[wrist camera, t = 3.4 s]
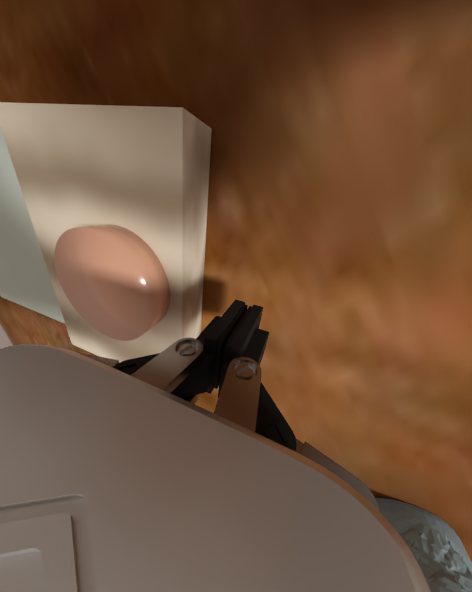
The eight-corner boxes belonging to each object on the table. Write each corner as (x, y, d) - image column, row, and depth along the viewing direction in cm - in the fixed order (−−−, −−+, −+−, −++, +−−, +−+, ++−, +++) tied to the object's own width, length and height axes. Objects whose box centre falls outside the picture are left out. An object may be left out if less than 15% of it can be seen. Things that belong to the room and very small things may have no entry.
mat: (-71, 112, 19) (-89, 108, 18) (42, 119, 15) (26, 114, 14) (10, 294, 28) (1, 297, 28) (94, 328, 24) (86, 332, 24)
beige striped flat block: (46, 119, 15) (-8, 102, 13) (211, 128, 12) (182, 107, 9) (97, 329, 24) (72, 344, 22) (198, 370, 21) (182, 393, 18)
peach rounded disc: (71, 216, 14) (38, 218, 12) (166, 234, 12) (142, 239, 10) (96, 312, 18) (73, 323, 16) (172, 338, 16) (155, 354, 14)
